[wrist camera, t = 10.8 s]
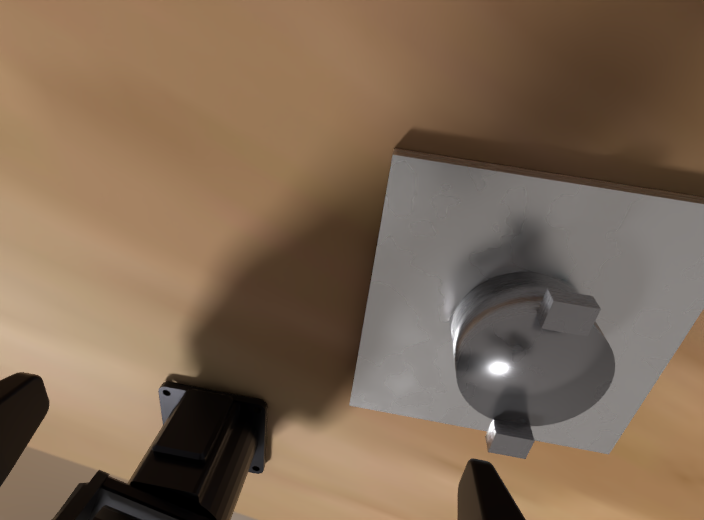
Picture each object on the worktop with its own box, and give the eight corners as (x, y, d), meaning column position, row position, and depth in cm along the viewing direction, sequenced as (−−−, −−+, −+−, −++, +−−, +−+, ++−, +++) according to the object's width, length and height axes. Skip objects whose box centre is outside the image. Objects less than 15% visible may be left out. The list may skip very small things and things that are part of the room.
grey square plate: (601, 438, 24) (640, 526, 20) (351, 391, 25) (338, 467, 21) (747, 203, 17) (853, 264, 13) (394, 147, 18) (387, 188, 14)
